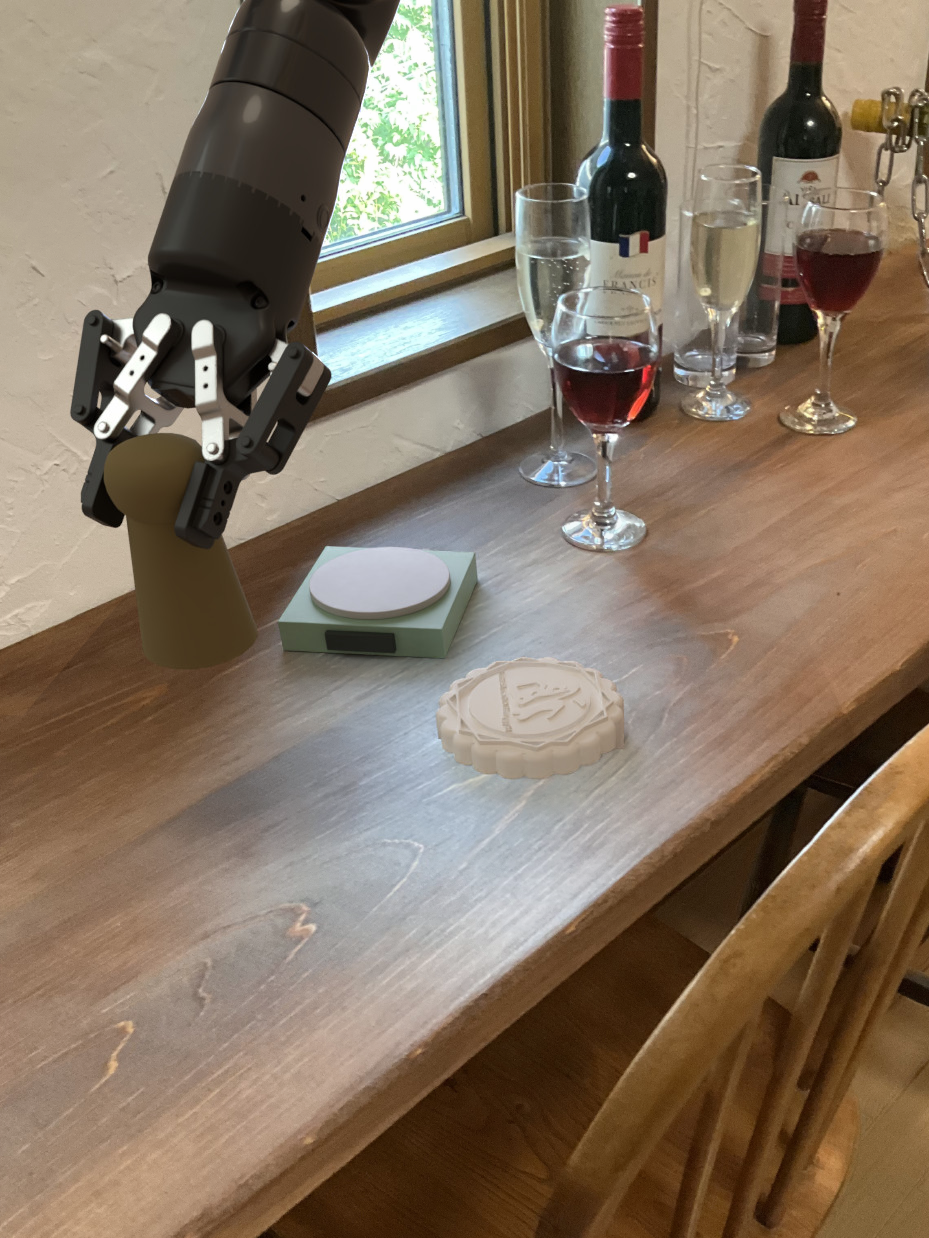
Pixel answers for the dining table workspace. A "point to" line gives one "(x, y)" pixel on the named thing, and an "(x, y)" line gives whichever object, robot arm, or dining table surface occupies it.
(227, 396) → the robot arm
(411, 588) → the scale
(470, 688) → the mooncake
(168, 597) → the cork
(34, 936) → the dining table surface
